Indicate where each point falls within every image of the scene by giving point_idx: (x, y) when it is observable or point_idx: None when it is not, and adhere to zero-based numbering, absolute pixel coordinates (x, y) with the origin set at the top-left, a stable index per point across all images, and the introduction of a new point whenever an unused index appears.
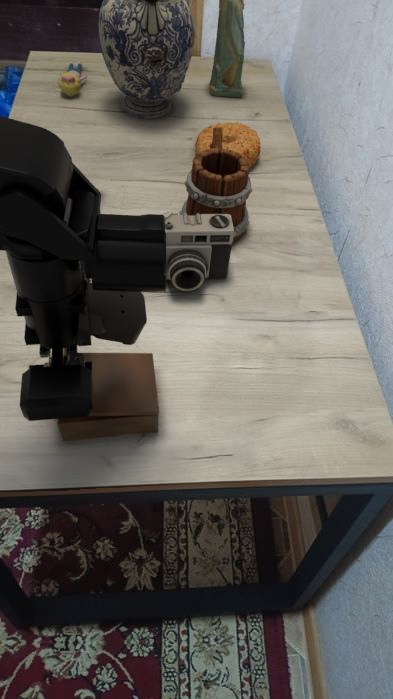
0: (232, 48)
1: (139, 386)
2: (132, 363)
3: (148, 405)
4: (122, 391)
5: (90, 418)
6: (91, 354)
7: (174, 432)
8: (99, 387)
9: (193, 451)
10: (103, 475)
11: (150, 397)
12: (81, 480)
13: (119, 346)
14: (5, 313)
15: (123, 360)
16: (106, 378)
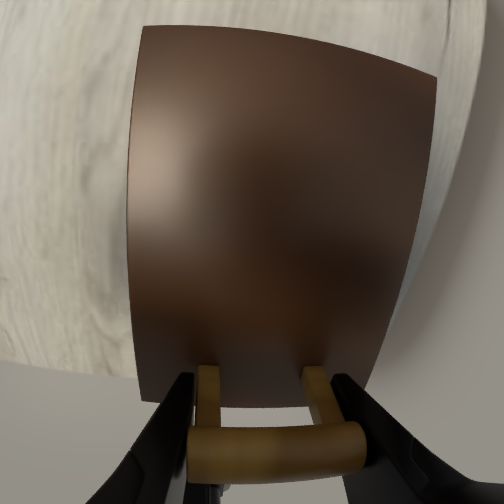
0: None
1: (324, 112)
2: (191, 120)
3: (413, 104)
4: (338, 190)
5: None
6: (137, 293)
7: (380, 39)
8: (303, 277)
9: (433, 23)
10: (423, 228)
11: (383, 84)
12: (414, 268)
13: (56, 143)
14: (15, 362)
15: (170, 160)
16: (265, 247)
